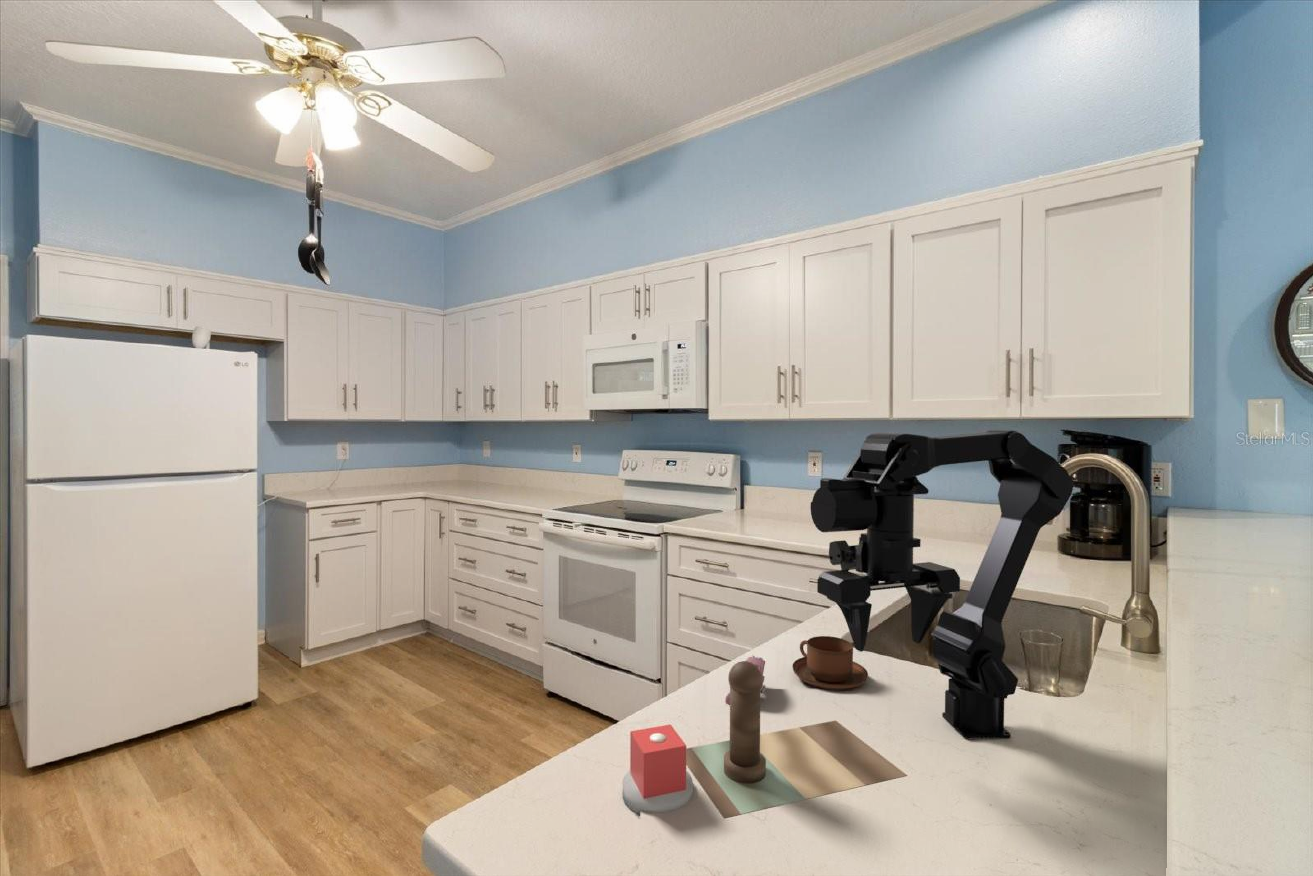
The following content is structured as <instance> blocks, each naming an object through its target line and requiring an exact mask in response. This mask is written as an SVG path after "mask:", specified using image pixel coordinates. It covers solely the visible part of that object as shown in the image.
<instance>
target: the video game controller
mask: <svg viewBox="0 0 1313 876" xmlns="http://www.w3.org/2000/svg"><path fill="white" fill-rule="evenodd" d="M745 661H748V662H751V663H753V664H754V665H756V666H757V667H758V669H759V670H760V672H761V675H762V685H761V688H760V694H761V693H762V694H763V693H764V692H765V690H766V684H764V682H765V678H766V677H765V675H764V671H765V665H766V660H764V659H763V657H760V656H755V655H754V654H752V655H751V656H749V657H747V658H746V660H745ZM724 702H725V704H727V705H729V706H730V691H729V692H728V693H727V694H726V696H725V701H724Z"/></svg>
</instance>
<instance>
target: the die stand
mask: <svg viewBox="0 0 1313 876" xmlns="http://www.w3.org/2000/svg"><path fill="white" fill-rule="evenodd" d="M629 733H630V736H629V738H630V739H629V740H630V743H629V744H630V745H629V747H630V751H629V753H630V756H629V757H630V758H629V759H630V760H629V763H630V765H629V766H630V767H629V770H628V771H627V772H626V773H625V774H624V776H623V779H622V800H623V803H624V805H626V807H627V808H628V809H629V810H631V811H632V812H634V813H635V814H637V815H641V811H645V812H649V813H666V812H671V811H676V810H678V809H680V808H682V807H683V806H684V805H686V804H687V803H688V802H689V801H690V800H691V798H692V796H693V790H694V789H693V788H694V783H693V778H692V776H691V774H690V773H689V772H688V771H687V765H686V748H687V745H686V743H685V741H684V740H683V739H682V738H681V736H680V735H679V734H678V733H677V730H675V728H674V727H673V725H672V724H666V725H659V726H654V727H648V728H642V729H635V730H631V731H630V732H629Z"/></svg>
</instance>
